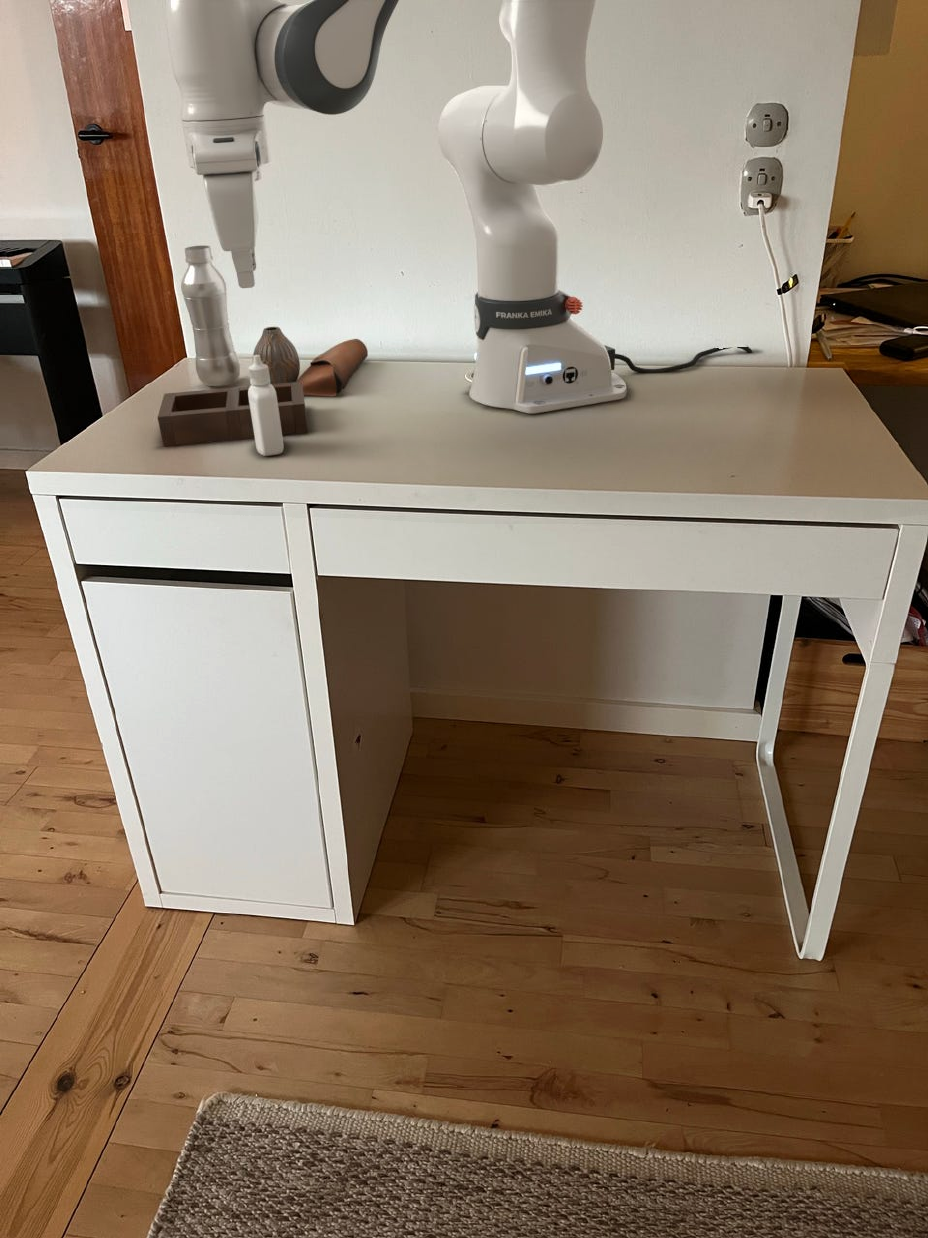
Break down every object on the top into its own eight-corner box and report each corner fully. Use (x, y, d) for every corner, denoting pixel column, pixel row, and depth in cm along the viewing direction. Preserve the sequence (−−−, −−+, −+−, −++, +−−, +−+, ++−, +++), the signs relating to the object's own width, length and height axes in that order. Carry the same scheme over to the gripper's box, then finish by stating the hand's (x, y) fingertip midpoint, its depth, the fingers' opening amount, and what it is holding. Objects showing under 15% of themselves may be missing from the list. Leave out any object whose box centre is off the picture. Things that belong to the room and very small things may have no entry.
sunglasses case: (317, 358, 156) (334, 322, 153) (355, 380, 157) (373, 345, 154) (287, 393, 141) (305, 354, 138) (330, 416, 142) (349, 378, 139)
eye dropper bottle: (245, 456, 121) (230, 361, 114) (262, 440, 125) (248, 348, 119) (278, 457, 120) (264, 362, 114) (294, 442, 124) (281, 349, 118)
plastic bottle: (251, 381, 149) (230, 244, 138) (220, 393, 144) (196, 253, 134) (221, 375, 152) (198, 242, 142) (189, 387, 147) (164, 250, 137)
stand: (305, 409, 136) (301, 381, 134) (308, 432, 127) (304, 403, 125) (169, 421, 133) (164, 393, 131) (163, 446, 125) (157, 416, 123)
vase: (293, 394, 142) (285, 334, 138) (249, 393, 143) (240, 334, 139) (308, 380, 148) (301, 322, 143) (266, 379, 149) (258, 322, 145)
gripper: (204, 141, 114) (225, 263, 121) (191, 158, 96) (216, 299, 103) (258, 138, 114) (275, 259, 121) (255, 153, 97) (275, 294, 104)
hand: (248, 278), depth 112 cm, fingers open, 8 cm apart
